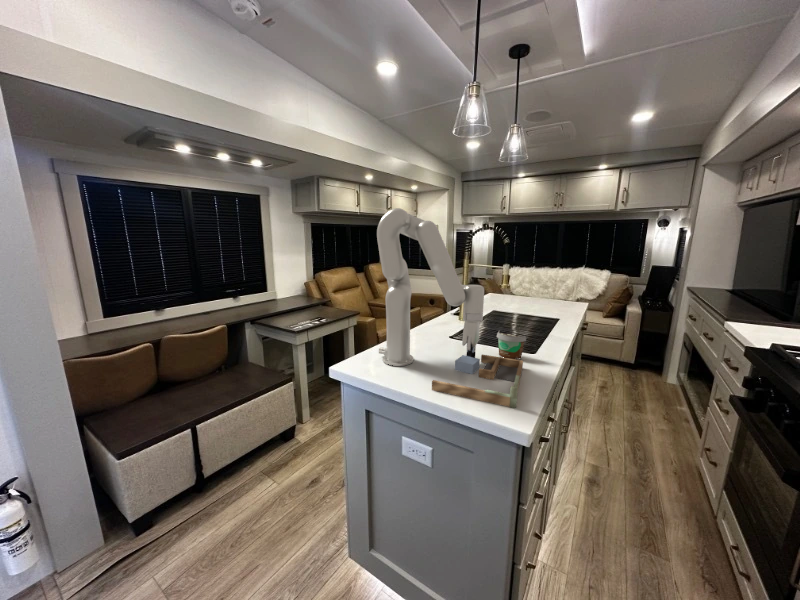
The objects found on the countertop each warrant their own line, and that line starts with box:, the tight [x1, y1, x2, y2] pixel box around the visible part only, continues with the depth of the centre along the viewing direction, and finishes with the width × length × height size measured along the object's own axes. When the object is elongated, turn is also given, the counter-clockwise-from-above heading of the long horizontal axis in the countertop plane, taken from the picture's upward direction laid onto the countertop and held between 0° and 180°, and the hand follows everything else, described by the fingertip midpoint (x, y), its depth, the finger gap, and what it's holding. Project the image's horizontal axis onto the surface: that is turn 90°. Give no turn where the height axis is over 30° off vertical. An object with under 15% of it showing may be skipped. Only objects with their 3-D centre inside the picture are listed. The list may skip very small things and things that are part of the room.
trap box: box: [431, 354, 524, 409], centre depth 109 cm, size 26×33×6 cm
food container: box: [496, 330, 527, 360], centre depth 129 cm, size 12×6×10 cm, turn 47°
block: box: [454, 354, 481, 375], centre depth 117 cm, size 7×7×4 cm
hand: (470, 360), depth 123 cm, fingers closed
